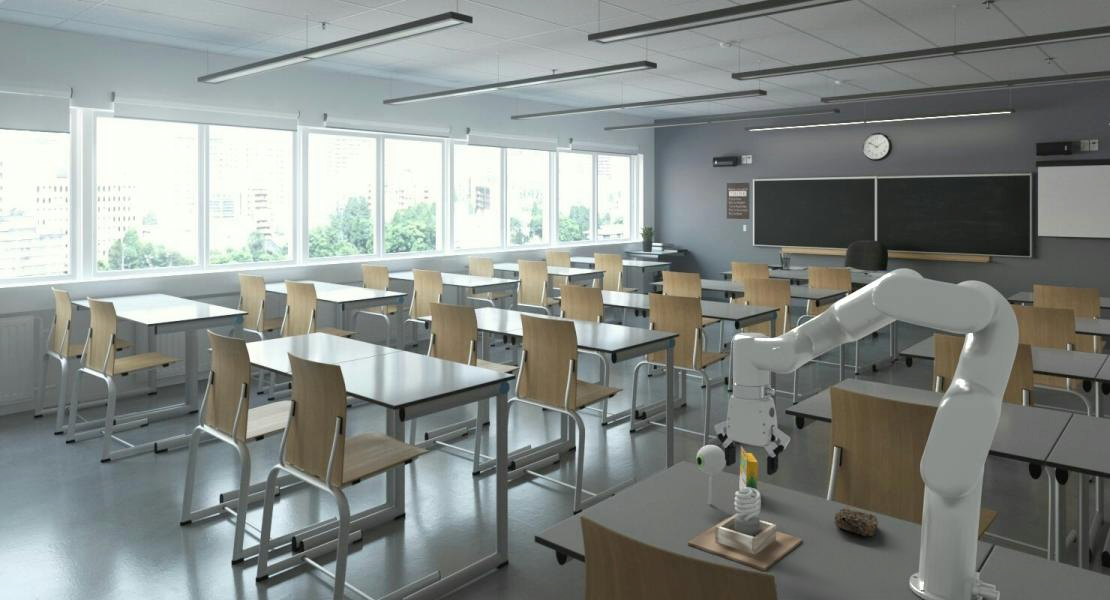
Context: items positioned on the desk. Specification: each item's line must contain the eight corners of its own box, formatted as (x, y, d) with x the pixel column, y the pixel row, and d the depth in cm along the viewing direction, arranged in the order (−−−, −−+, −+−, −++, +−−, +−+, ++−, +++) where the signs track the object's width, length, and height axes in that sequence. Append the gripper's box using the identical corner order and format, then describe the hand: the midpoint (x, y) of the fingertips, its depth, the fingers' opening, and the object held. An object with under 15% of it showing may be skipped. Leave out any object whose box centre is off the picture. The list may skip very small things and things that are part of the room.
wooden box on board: (802, 541, 172) (802, 524, 172) (764, 570, 159) (765, 552, 158) (728, 519, 184) (729, 502, 184) (687, 544, 171) (688, 527, 170)
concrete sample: (871, 545, 171) (872, 523, 170) (825, 533, 177) (826, 511, 176) (886, 527, 180) (887, 506, 179) (841, 516, 186) (842, 496, 185)
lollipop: (689, 501, 195) (690, 443, 193) (713, 496, 198) (714, 439, 196) (706, 511, 188) (708, 451, 186) (730, 506, 191) (732, 447, 189)
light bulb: (760, 547, 168) (762, 494, 166) (733, 545, 169) (735, 492, 168) (759, 536, 174) (760, 484, 172) (733, 534, 175) (734, 482, 173)
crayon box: (757, 500, 196) (758, 455, 194) (745, 499, 196) (746, 455, 194) (750, 489, 203) (752, 445, 201) (738, 488, 203) (740, 445, 202)
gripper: (797, 393, 164) (796, 472, 166) (723, 382, 175) (723, 456, 177) (781, 400, 158) (781, 482, 160) (706, 389, 170) (706, 465, 172)
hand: (751, 468), depth 169 cm, fingers open, 9 cm apart
